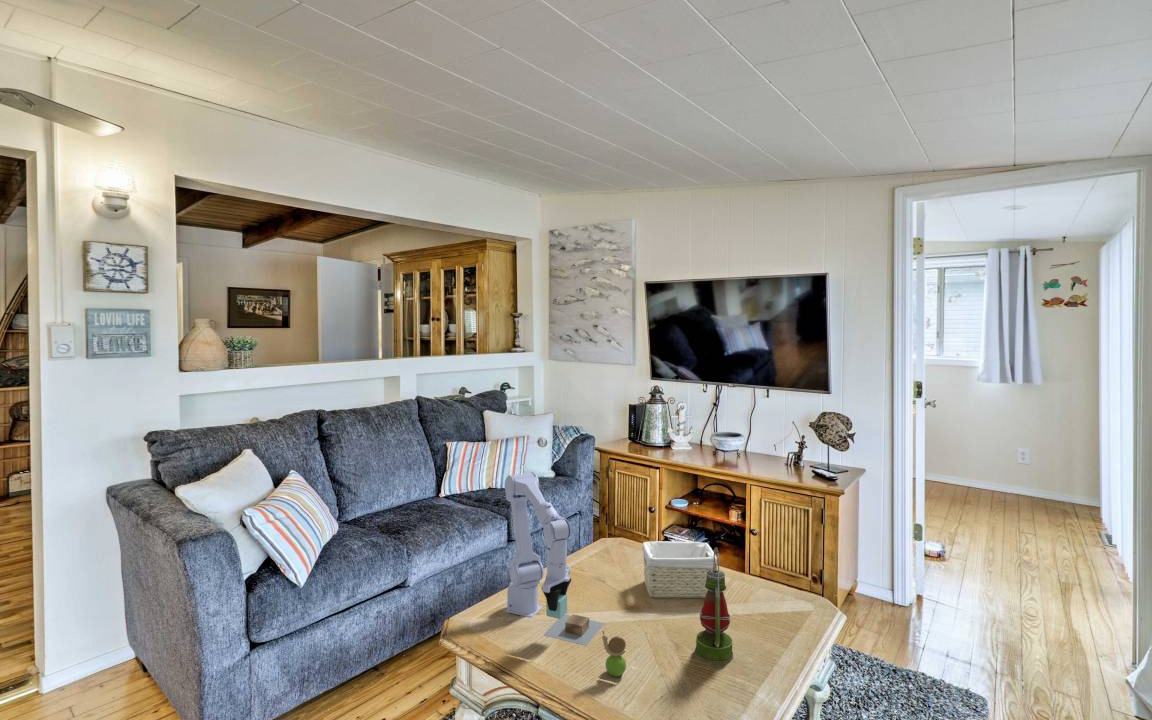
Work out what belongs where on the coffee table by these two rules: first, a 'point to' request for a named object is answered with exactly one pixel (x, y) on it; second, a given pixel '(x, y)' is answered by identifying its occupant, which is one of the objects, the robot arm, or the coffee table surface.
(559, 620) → the build plate
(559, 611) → the teal brick
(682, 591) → the storage basket
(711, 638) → the lantern
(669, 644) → the coffee table surface
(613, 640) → the green toy figure
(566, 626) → the walnut brick
